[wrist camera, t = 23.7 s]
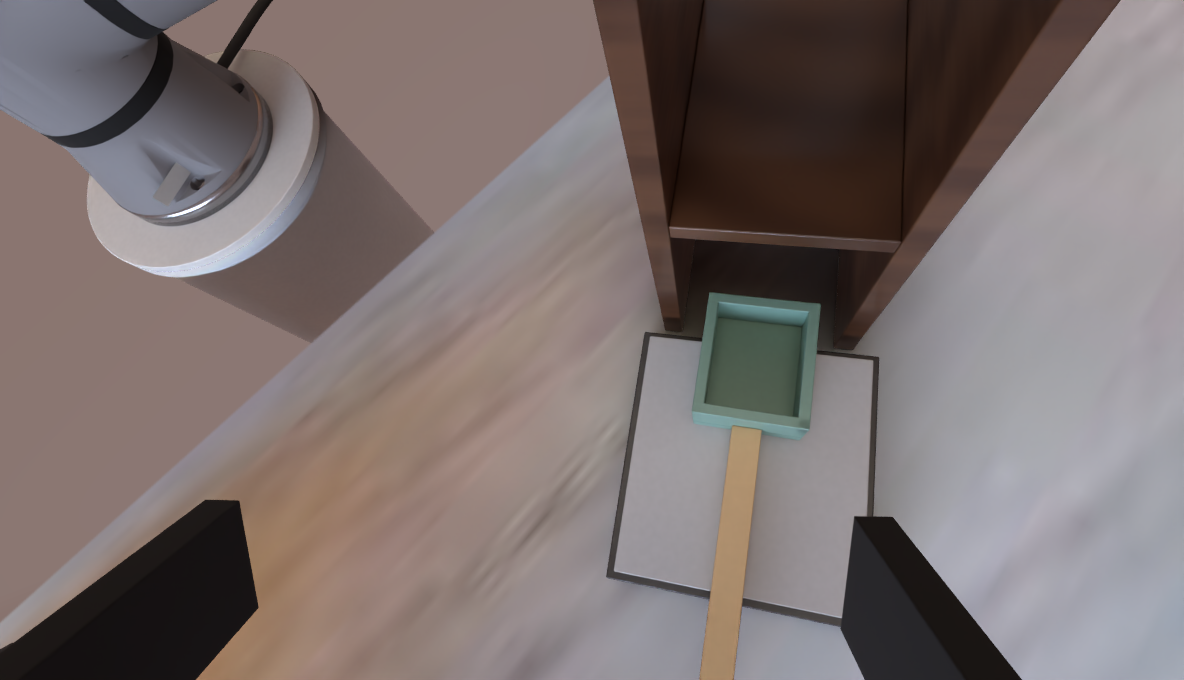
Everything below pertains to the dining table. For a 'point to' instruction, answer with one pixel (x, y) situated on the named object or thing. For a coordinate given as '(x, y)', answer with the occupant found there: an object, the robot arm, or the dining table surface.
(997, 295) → the dining table surface
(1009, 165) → the dining table surface
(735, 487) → the scoop
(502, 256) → the dining table surface
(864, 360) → the whiteboard
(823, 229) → the shelf
